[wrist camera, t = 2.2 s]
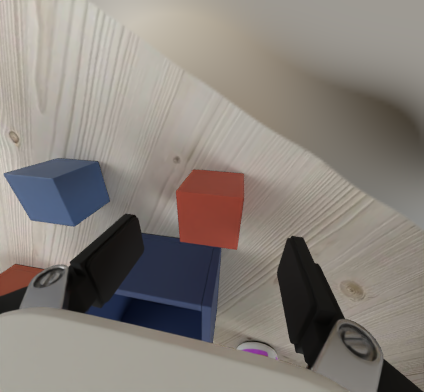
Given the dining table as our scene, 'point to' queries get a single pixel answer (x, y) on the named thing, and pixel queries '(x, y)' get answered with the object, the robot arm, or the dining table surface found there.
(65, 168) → the blue block
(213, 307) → the blue bin
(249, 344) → the supplement bottle
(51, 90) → the dining table surface
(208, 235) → the red block
